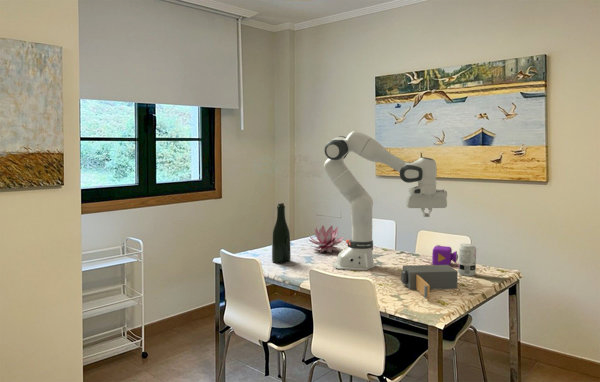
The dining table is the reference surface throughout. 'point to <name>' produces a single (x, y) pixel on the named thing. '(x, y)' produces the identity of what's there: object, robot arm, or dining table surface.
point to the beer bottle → (281, 237)
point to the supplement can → (467, 260)
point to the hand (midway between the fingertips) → (426, 216)
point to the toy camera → (443, 255)
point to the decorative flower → (326, 239)
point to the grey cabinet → (430, 276)
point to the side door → (422, 286)
